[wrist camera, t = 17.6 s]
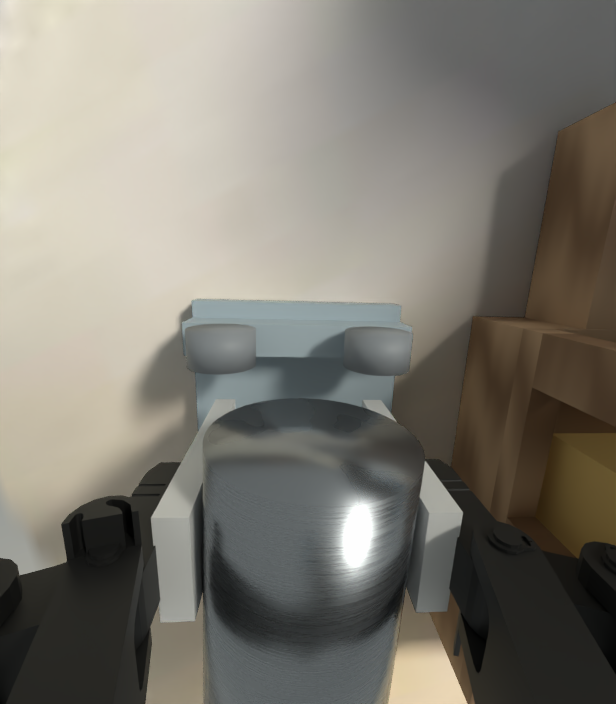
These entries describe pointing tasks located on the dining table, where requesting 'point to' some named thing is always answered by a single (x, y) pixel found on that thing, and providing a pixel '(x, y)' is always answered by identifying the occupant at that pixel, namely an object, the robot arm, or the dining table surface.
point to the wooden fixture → (544, 351)
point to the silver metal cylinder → (305, 551)
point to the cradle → (294, 351)
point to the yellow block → (580, 489)
